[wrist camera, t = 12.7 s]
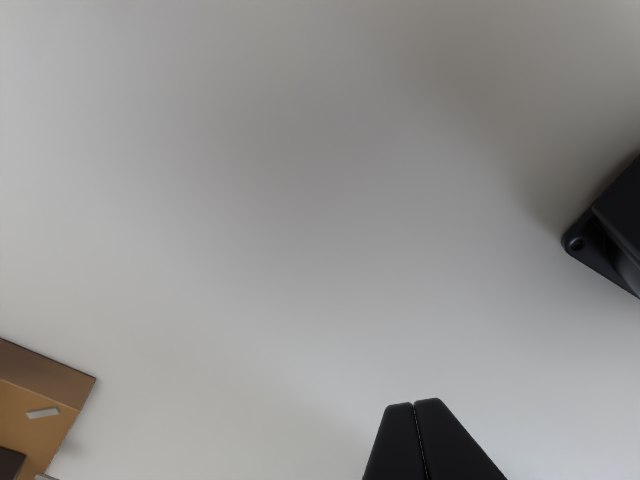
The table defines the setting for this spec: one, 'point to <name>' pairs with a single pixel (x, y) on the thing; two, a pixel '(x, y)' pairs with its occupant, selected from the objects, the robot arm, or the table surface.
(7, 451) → the dark grey block
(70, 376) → the brown piece
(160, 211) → the table surface
